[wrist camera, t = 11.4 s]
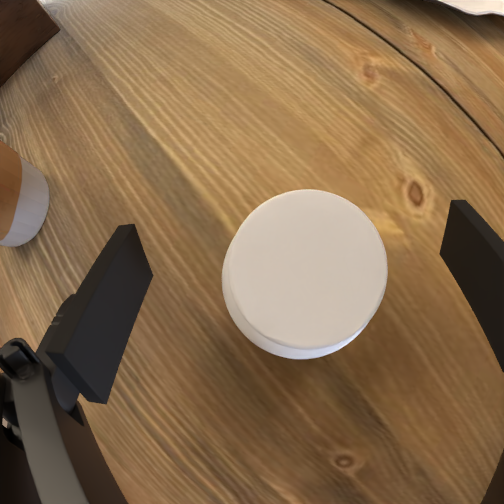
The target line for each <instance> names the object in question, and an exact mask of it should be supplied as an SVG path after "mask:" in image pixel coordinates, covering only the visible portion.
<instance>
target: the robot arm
mask: <svg viewBox="0 0 504 504" xmlns="http://www.w3.org/2000/svg"><path fill="white" fill-rule="evenodd" d="M439 254H440V256H441V257H442V259H443V260H444V262H445V263H446V265H447V267H448V268H449V270H450V272H451V273H452V275H453V277H454V278H455V280H456V282H457V283H458V285H459V287H460V288H461V290H462V292H463V294H464V295H465V297H466V299H467V301H468V302H469V304H470V306H471V308H472V310H473V312H474V313H475V315H476V317H477V319H478V321H479V323H480V325H481V327H482V329H483V331H484V333H485V335H486V337H487V339H488V341H489V343H490V345H491V347H492V349H493V351H494V354H495V356H496V358H497V360H498V362H499V365H500V367H501V369H502V371H503V372H504V242H503V241H502V239H501V238H500V237H499V236H498V235H497V234H496V232H495V231H494V230H493V229H492V228H491V227H490V226H489V225H488V223H487V222H486V221H485V220H484V219H483V218H482V217H481V216H480V215H479V214H478V213H477V212H476V210H475V209H474V208H473V207H472V206H471V205H470V204H469V203H468V202H467V201H466V200H451V203H450V209H449V214H448V219H447V223H446V228H445V233H444V237H443V241H442V245H441V249H440V253H439ZM152 277H153V274H152V271H151V268H150V266H149V263H148V260H147V258H146V255H145V252H144V250H143V247H142V244H141V241H140V238H139V236H138V233H137V230H136V227H135V224H128V225H120V226H118V227H117V229H116V230H115V232H114V233H113V235H112V236H111V238H110V239H109V241H108V242H107V244H106V245H105V247H104V248H103V250H102V252H101V253H100V255H99V256H98V258H97V259H96V261H95V263H94V264H93V266H92V267H91V269H90V271H89V272H88V274H87V275H86V277H85V279H84V280H83V282H82V284H81V285H80V287H79V289H78V290H77V292H76V294H71V295H70V296H69V297H68V298H67V299H66V300H65V301H64V302H63V303H62V305H61V307H60V308H59V310H58V312H57V314H56V317H54V319H53V321H52V322H51V323H52V325H50V326H49V328H48V330H47V332H46V333H45V335H44V337H43V339H42V341H41V343H40V345H39V347H38V349H37V351H36V353H35V352H34V351H33V350H32V349H31V348H30V346H29V345H28V344H27V342H26V341H25V340H23V339H22V338H14V339H12V340H10V341H8V342H7V343H6V344H4V345H3V347H2V348H1V349H0V368H1V369H2V370H3V371H4V373H0V504H128V502H127V501H126V499H125V497H124V495H123V494H122V492H121V490H120V488H119V486H118V485H117V483H116V481H115V479H114V477H113V475H112V473H111V471H110V469H109V467H108V465H107V463H106V461H105V459H104V457H103V455H102V453H101V451H100V449H99V447H98V444H97V442H96V440H95V438H94V435H93V433H92V431H91V428H90V426H89V424H88V421H87V419H86V416H85V414H84V411H83V409H82V406H81V404H80V403H79V401H78V400H77V398H78V396H79V393H81V394H82V395H83V396H84V397H85V398H86V400H87V401H89V402H95V403H101V404H107V401H108V398H109V395H110V391H111V388H112V385H113V382H114V379H115V376H116V373H117V370H118V367H119V364H120V362H121V359H122V356H123V353H124V350H125V347H126V345H127V342H128V339H129V336H130V334H131V331H132V328H133V326H134V323H135V320H136V318H137V315H138V312H139V310H140V307H141V305H142V302H143V300H144V297H145V294H146V292H147V289H148V287H149V284H150V282H151V280H152ZM3 418H4V419H5V420H6V421H7V422H8V425H7V428H6V427H4V426H3V425H2V419H3ZM481 504H504V450H503V453H502V455H501V458H500V461H499V463H498V466H497V468H496V471H495V473H494V476H493V478H492V481H491V483H490V485H489V488H488V490H487V492H486V494H485V496H484V498H483V500H482V503H481Z"/></svg>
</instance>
